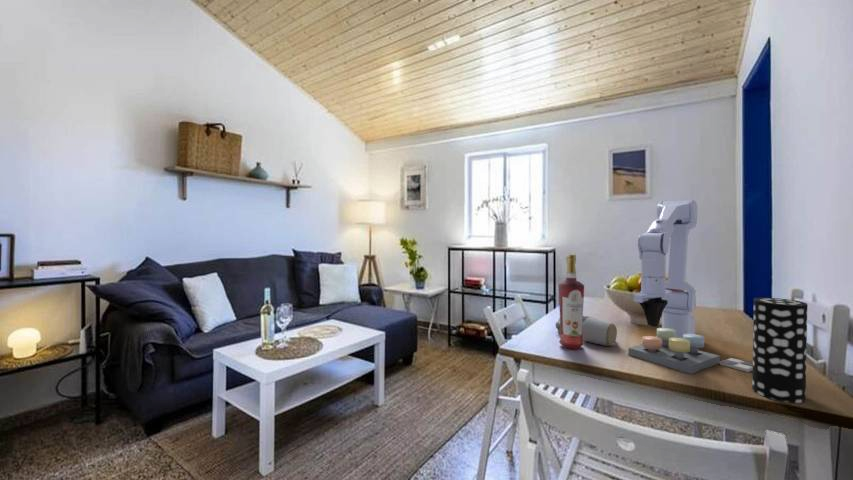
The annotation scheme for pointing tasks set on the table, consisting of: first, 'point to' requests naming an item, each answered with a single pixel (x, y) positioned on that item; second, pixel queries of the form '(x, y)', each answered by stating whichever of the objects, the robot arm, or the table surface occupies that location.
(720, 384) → the table surface
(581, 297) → the liquor
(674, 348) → the button
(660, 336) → the button
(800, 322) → the white-spotted black cylinder
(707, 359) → the button console
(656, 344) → the button
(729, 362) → the card
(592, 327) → the grey cylinder
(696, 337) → the button
